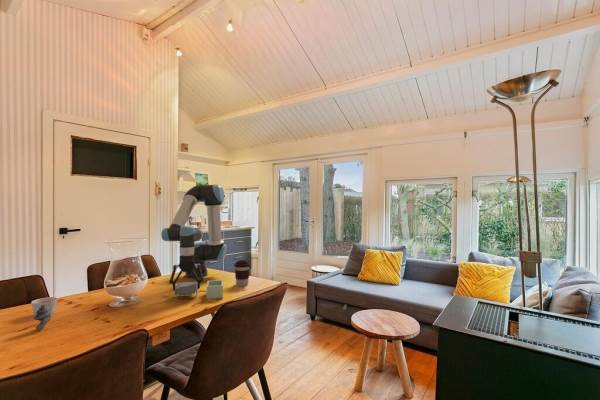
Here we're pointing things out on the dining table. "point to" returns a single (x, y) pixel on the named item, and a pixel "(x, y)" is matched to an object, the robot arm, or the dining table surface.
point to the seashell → (43, 316)
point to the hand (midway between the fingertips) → (186, 295)
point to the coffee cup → (242, 272)
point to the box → (214, 289)
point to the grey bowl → (47, 301)
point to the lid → (185, 288)
